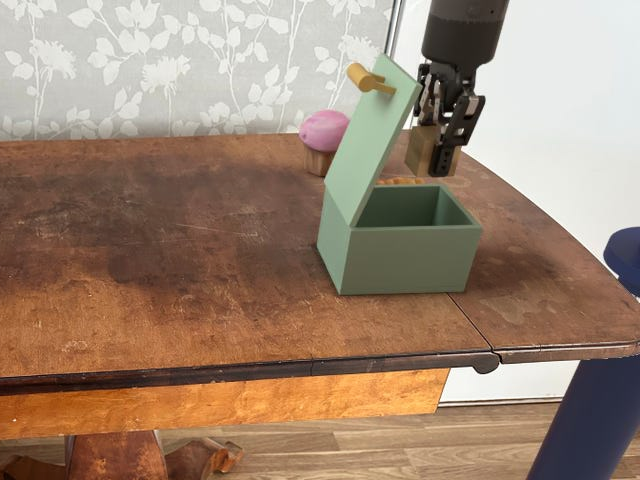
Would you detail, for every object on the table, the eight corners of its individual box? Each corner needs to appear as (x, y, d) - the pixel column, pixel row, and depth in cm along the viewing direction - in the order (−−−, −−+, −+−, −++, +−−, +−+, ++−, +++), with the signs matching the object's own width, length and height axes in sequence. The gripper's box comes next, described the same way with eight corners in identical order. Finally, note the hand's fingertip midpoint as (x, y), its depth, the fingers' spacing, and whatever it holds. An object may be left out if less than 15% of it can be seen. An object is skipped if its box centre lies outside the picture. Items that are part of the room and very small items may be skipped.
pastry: (361, 209, 105) (366, 185, 103) (357, 191, 111) (362, 168, 108) (426, 213, 104) (432, 189, 102) (419, 194, 110) (424, 171, 107)
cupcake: (326, 158, 121) (335, 100, 115) (360, 176, 115) (371, 115, 109) (284, 168, 118) (291, 108, 112) (317, 187, 112) (326, 125, 106)
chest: (428, 243, 97) (443, 183, 92) (463, 291, 87) (483, 227, 82) (316, 246, 97) (325, 185, 91) (339, 295, 87) (350, 230, 81)
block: (440, 161, 86) (449, 125, 83) (454, 176, 82) (464, 138, 79) (403, 162, 85) (411, 125, 83) (416, 177, 82) (425, 139, 79)
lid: (386, 53, 82) (346, 41, 80) (423, 86, 72) (378, 73, 71) (328, 183, 91) (292, 173, 90) (354, 228, 81) (314, 218, 80)
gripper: (534, 25, 68) (484, 192, 78) (475, -4, 79) (438, 145, 89) (458, 26, 67) (418, 193, 78) (409, -3, 79) (380, 146, 89)
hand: (429, 166), depth 84 cm, fingers closed on block, 4 cm apart
